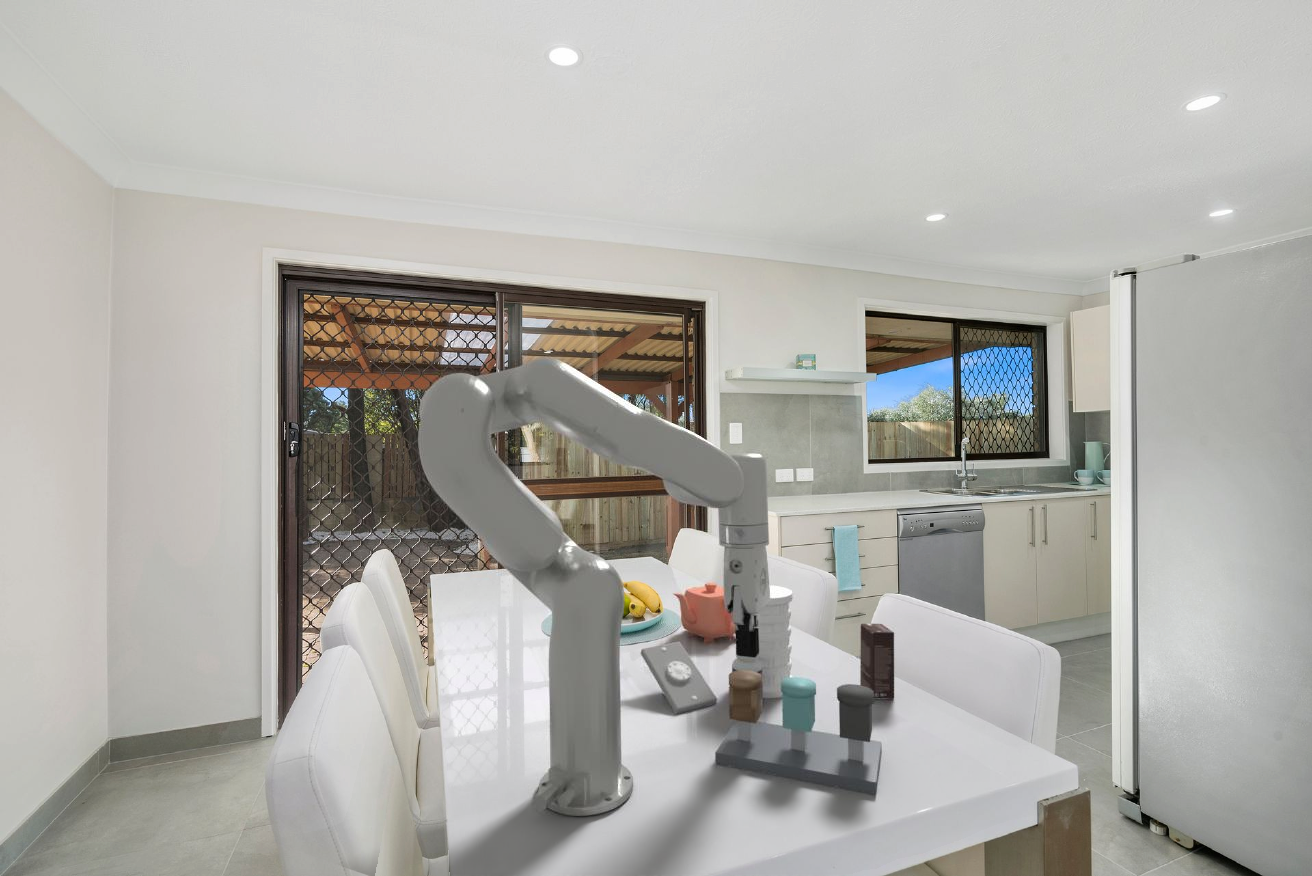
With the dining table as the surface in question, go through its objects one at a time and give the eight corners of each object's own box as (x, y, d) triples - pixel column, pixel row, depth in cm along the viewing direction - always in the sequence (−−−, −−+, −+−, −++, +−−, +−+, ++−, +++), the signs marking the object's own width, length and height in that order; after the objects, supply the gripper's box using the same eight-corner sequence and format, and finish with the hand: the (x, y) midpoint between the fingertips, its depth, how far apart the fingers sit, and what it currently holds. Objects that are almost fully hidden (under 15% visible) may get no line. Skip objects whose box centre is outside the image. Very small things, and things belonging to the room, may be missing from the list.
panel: (876, 794, 82) (875, 745, 82) (715, 763, 90) (714, 719, 91) (881, 752, 93) (880, 709, 93) (737, 728, 102) (737, 688, 102)
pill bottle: (738, 711, 108) (737, 655, 108) (728, 699, 113) (727, 645, 113) (767, 708, 109) (766, 652, 109) (756, 696, 114) (755, 643, 114)
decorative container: (754, 702, 111) (752, 601, 112) (723, 680, 122) (722, 588, 122) (808, 692, 116) (807, 594, 116) (774, 671, 127) (772, 582, 127)
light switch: (678, 706, 107) (642, 644, 118) (670, 730, 109) (635, 667, 120) (719, 695, 111) (680, 637, 122) (710, 718, 113) (673, 659, 124)
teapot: (673, 644, 145) (672, 589, 145) (688, 624, 160) (688, 575, 161) (737, 649, 141) (736, 593, 141) (747, 628, 156) (746, 577, 157)
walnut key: (758, 725, 92) (757, 684, 92) (725, 719, 94) (724, 679, 94) (765, 711, 96) (765, 672, 96) (734, 706, 98) (733, 668, 98)
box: (896, 699, 112) (895, 632, 112) (871, 700, 112) (870, 632, 112) (883, 686, 118) (881, 622, 118) (859, 687, 118) (858, 623, 118)
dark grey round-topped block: (873, 744, 85) (872, 700, 85) (835, 738, 87) (834, 695, 87) (875, 728, 90) (875, 687, 90) (839, 723, 92) (839, 682, 92)
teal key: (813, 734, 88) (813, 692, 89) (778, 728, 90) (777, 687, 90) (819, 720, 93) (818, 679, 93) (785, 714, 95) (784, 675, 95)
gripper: (755, 543, 87) (760, 675, 87) (778, 528, 101) (782, 642, 101) (704, 541, 90) (708, 669, 90) (733, 526, 104) (737, 637, 104)
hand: (747, 654), depth 95 cm, fingers closed
